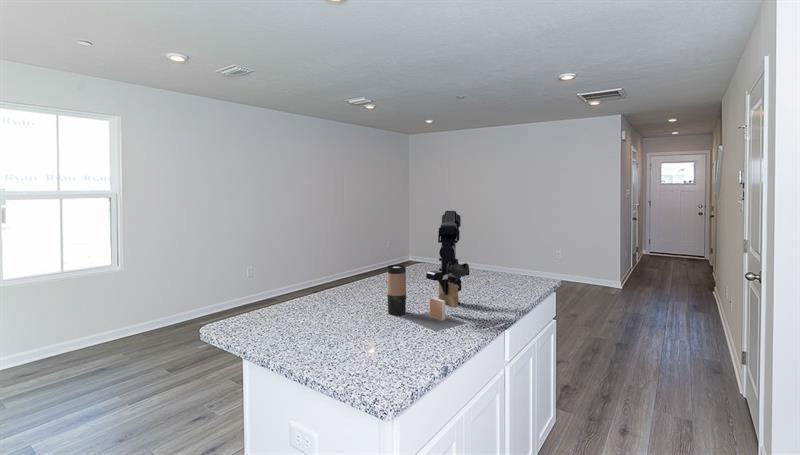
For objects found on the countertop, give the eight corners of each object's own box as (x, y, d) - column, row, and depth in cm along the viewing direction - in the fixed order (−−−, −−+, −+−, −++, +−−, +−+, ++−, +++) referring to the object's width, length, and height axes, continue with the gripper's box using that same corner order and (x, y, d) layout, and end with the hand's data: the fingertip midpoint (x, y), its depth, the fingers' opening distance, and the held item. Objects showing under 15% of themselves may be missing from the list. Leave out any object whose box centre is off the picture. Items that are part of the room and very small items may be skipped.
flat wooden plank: (438, 302, 174) (438, 281, 174) (442, 302, 175) (442, 280, 175) (454, 307, 167) (454, 285, 166) (457, 306, 168) (457, 284, 167)
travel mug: (409, 312, 177) (408, 265, 175) (401, 317, 170) (401, 268, 168) (392, 310, 180) (392, 264, 178) (384, 315, 173) (383, 267, 172)
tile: (429, 315, 171) (429, 297, 170) (432, 315, 172) (432, 297, 171) (442, 320, 165) (442, 301, 164) (445, 319, 166) (445, 300, 165)
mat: (403, 319, 168) (402, 318, 168) (433, 312, 178) (433, 311, 178) (436, 332, 152) (436, 331, 152) (467, 324, 162) (468, 323, 162)
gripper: (444, 261, 158) (444, 302, 159) (479, 256, 168) (479, 295, 170) (425, 257, 166) (425, 296, 168) (459, 253, 177) (459, 289, 179)
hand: (448, 294), depth 171 cm, fingers closed on flat wooden plank, 2 cm apart
